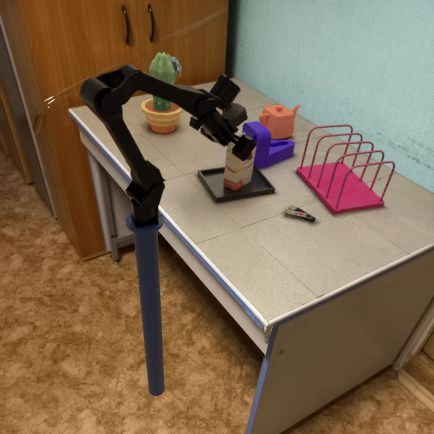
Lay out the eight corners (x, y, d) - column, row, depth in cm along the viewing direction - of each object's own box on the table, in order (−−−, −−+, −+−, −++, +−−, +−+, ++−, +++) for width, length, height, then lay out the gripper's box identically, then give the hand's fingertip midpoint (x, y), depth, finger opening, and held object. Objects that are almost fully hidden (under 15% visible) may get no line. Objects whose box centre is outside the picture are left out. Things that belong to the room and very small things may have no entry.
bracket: (254, 169, 139) (259, 135, 131) (239, 154, 146) (243, 120, 137) (300, 160, 145) (307, 127, 137) (283, 146, 152) (289, 113, 143)
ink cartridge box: (235, 192, 128) (240, 146, 117) (222, 185, 130) (226, 140, 119) (251, 181, 132) (258, 136, 122) (239, 175, 134) (244, 130, 124)
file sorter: (341, 166, 144) (354, 121, 133) (383, 207, 128) (403, 159, 117) (295, 171, 140) (305, 125, 128) (333, 215, 123) (349, 166, 112)
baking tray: (216, 203, 124) (216, 198, 122) (197, 175, 134) (197, 170, 133) (274, 193, 130) (275, 188, 128) (252, 167, 140) (252, 162, 139)
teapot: (248, 130, 159) (252, 102, 152) (287, 123, 166) (292, 96, 158) (264, 144, 152) (269, 115, 145) (305, 136, 159) (311, 108, 151)
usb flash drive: (316, 220, 120) (316, 217, 120) (304, 227, 118) (305, 224, 117) (292, 207, 125) (293, 204, 124) (281, 213, 122) (281, 210, 121)
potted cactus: (178, 139, 150) (178, 63, 133) (136, 133, 151) (131, 57, 134) (187, 121, 161) (188, 49, 144) (148, 116, 162) (144, 43, 145)
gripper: (256, 109, 105) (280, 141, 118) (210, 85, 115) (237, 116, 128) (229, 147, 107) (255, 174, 120) (186, 119, 117) (215, 147, 130)
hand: (240, 151), depth 125 cm, fingers open, 9 cm apart
